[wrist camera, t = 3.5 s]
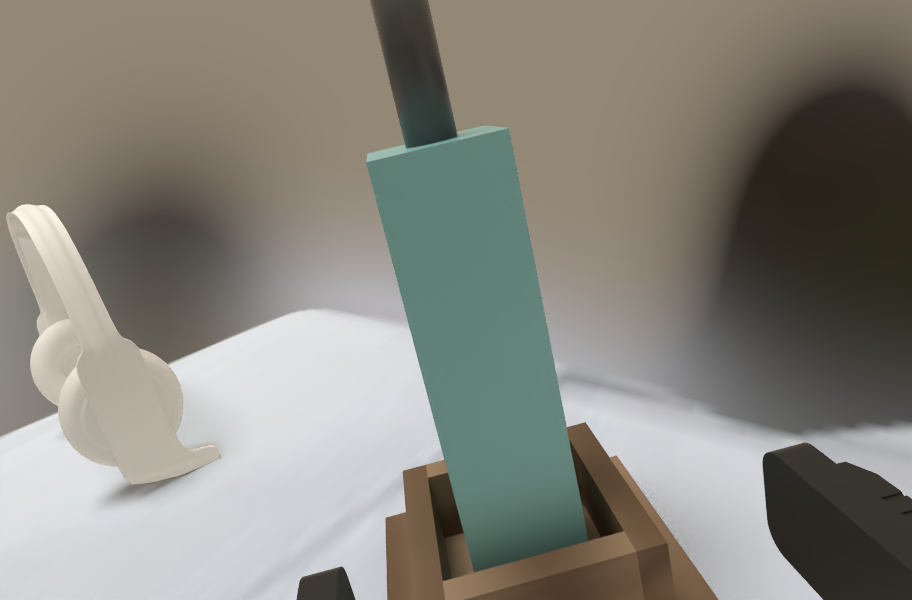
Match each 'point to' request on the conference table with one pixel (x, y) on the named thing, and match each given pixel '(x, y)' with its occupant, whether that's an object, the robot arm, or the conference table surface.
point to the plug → (473, 307)
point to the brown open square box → (549, 574)
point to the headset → (98, 364)
